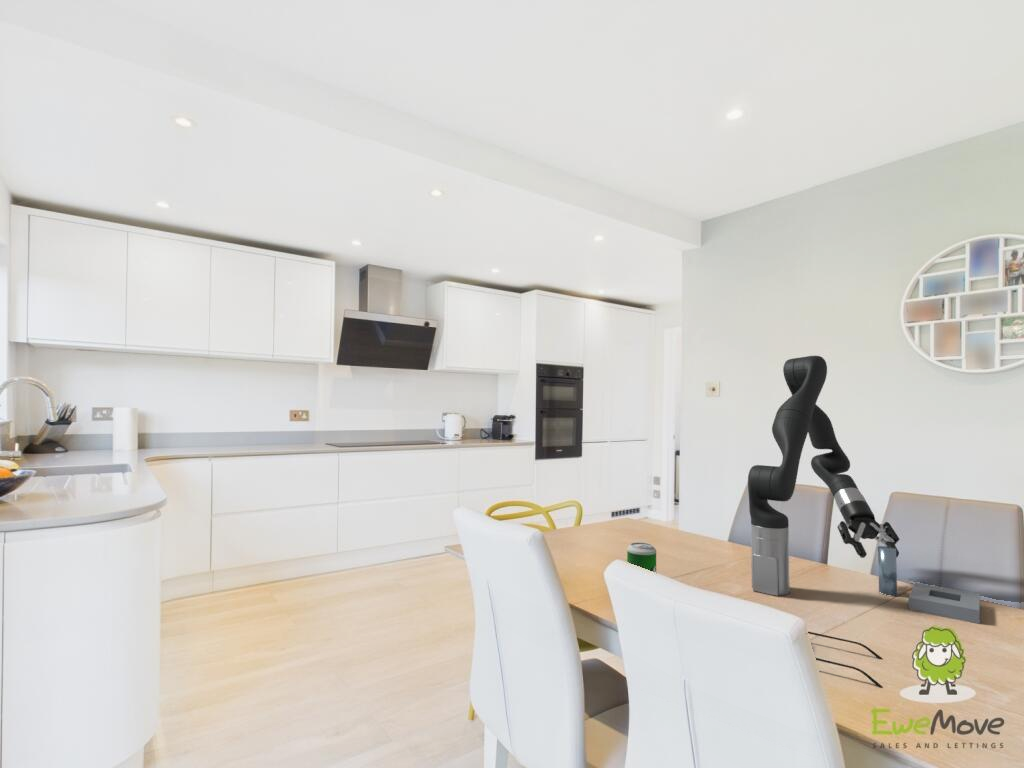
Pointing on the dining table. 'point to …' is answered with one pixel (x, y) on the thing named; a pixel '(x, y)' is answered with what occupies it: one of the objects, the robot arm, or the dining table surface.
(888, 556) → the steel pin
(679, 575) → the dining table surface
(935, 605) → the socket stand
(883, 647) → the dining table surface
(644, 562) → the soda can
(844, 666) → the glasses
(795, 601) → the dining table surface
